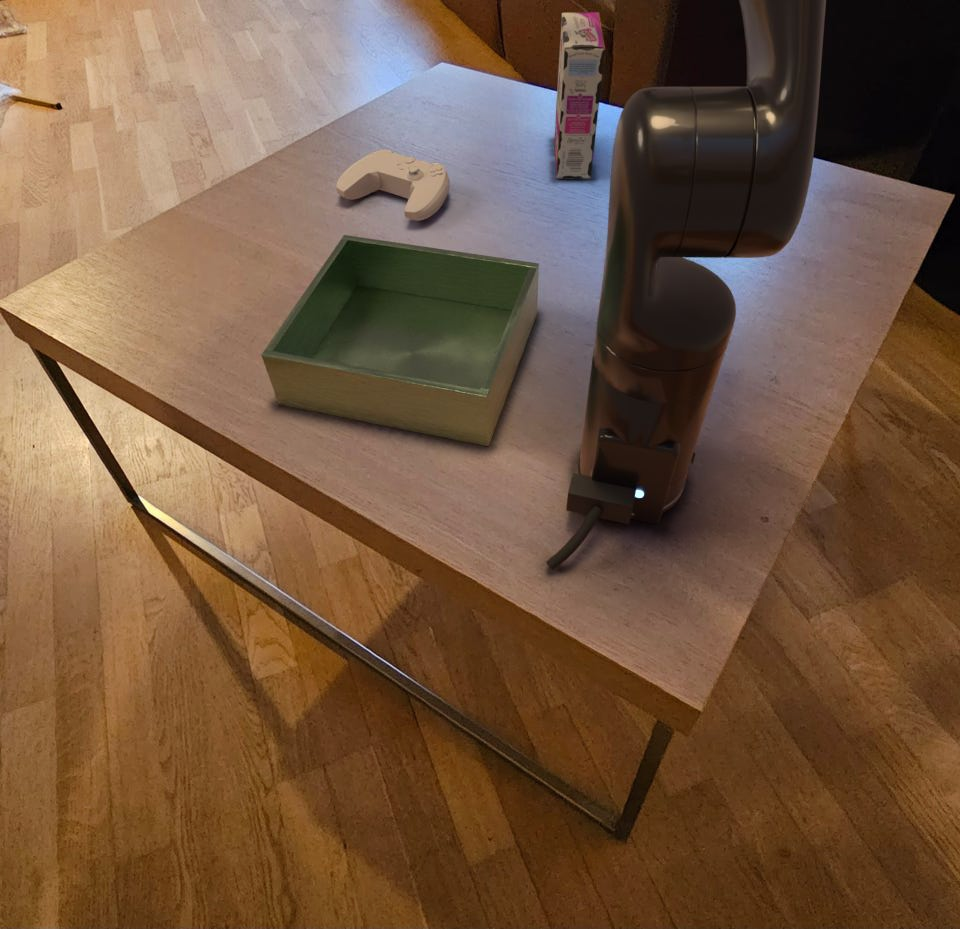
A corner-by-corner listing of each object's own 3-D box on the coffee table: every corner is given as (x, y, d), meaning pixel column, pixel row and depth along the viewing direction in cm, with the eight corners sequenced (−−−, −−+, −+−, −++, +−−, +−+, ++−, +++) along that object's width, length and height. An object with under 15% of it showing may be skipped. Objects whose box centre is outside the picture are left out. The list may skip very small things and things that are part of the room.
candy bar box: (593, 180, 95) (606, 46, 83) (555, 180, 96) (562, 47, 83) (588, 138, 102) (600, 9, 90) (553, 138, 103) (559, 10, 90)
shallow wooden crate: (488, 446, 67) (486, 397, 62) (278, 404, 71) (260, 354, 66) (537, 314, 79) (539, 263, 74) (354, 284, 83) (343, 234, 78)
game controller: (324, 182, 91) (367, 132, 95) (335, 209, 95) (376, 160, 99) (419, 211, 86) (461, 157, 90) (427, 239, 90) (466, 186, 94)
